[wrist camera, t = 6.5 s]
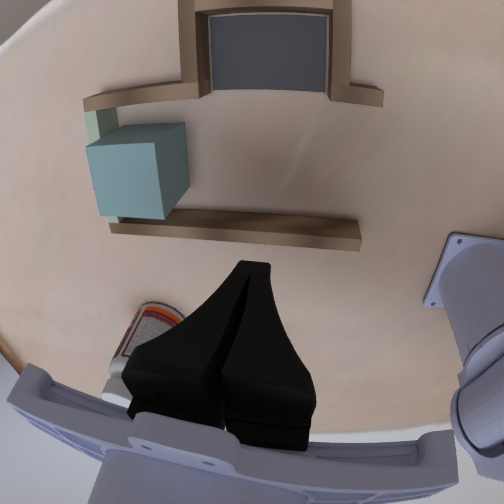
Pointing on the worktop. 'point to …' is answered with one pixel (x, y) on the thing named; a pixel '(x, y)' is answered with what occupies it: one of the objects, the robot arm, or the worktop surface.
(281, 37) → the mat
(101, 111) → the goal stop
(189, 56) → the brown frame
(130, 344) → the pill bottle
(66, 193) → the worktop surface
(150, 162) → the teal block
